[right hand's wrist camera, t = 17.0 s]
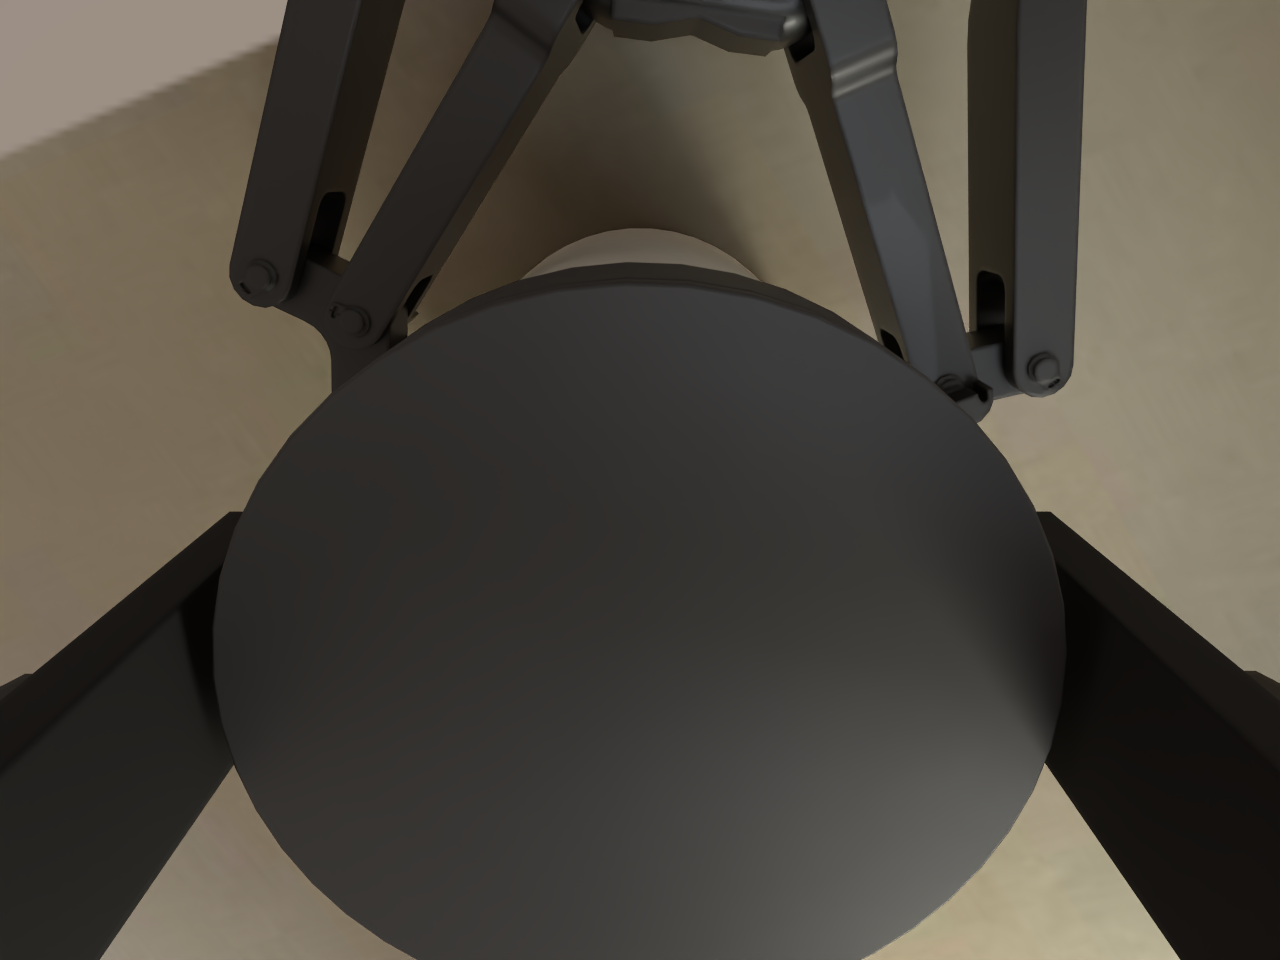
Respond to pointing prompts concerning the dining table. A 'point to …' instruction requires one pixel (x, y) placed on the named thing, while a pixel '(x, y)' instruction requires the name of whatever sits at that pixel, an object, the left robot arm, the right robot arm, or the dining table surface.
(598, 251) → the jar
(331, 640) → the lid
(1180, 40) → the dining table surface
